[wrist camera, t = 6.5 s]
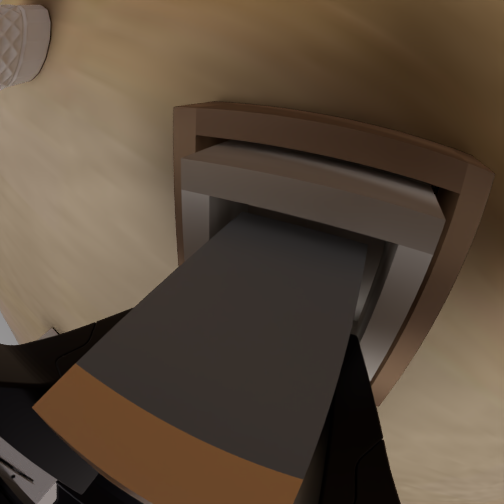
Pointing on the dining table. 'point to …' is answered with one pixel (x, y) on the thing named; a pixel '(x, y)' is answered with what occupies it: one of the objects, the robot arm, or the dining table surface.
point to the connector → (218, 370)
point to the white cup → (22, 42)
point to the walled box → (338, 207)
